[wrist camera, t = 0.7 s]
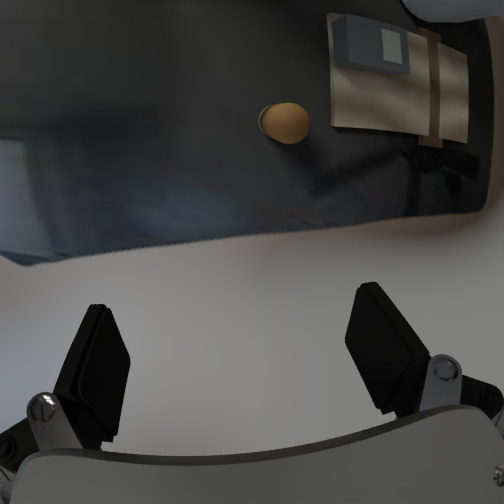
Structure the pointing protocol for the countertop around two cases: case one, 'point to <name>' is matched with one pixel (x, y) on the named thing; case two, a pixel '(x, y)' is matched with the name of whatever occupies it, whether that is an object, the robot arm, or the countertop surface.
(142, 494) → the robot arm
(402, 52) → the block
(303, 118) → the orange brown cylinder
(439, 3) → the plastic bottle
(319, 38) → the countertop surface
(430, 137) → the board
